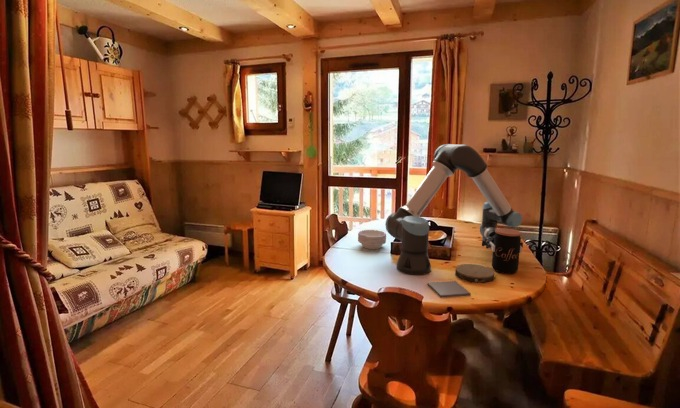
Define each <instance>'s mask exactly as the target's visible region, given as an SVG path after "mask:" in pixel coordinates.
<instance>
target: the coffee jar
mask: <svg viewBox="0 0 680 408" xmlns="http://www.w3.org/2000/svg"><path fill="white" fill-rule="evenodd" d="M495 232H496V234H495V236H494V245H495V252H493V251H492V259H491V267H492V270H493V271H494V272H495V271H496V272H498V273H501V274H515V273H516V272H517V271H518V270H519V263H520V262H519V261H520V254H521V253H520V243H521V242H522V241H521V240H522V238H521V236H522V231H520V230H518V229H512V228H505V227H504V228H502V227H499V228H498V227H497V229H495Z"/></svg>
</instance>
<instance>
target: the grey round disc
mask: <svg viewBox="0 0 680 408" xmlns="http://www.w3.org/2000/svg"><path fill="white" fill-rule="evenodd" d="M495 274H496V273H495V270H494V269H493V268H489V267H487V266H484V265H480V264H473V263H463V264H459V265H457V266H455V273H454V275H455V276H456V278H458V279H460V280H461V281H464V282H468V283H471V284H472V283H473V284H489V283H492V282H494V280H495Z"/></svg>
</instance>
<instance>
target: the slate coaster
mask: <svg viewBox="0 0 680 408" xmlns="http://www.w3.org/2000/svg"><path fill="white" fill-rule="evenodd" d="M427 287H429V288H430V289H431V290H432V291H433V292H434V294H436V295H437V296H438V297H439V298H441V299H442V298H443V299H444V298H456V297H470V296H471V295H472V294H471V292H470V291H469V290H467V288H465V287H463V285H461V284H460V283H458V281H456V280H451V281H447V280H446V281H434V282H431V281H430V282H427Z"/></svg>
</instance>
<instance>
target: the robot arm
mask: <svg viewBox="0 0 680 408" xmlns="http://www.w3.org/2000/svg"><path fill="white" fill-rule="evenodd" d="M431 164H432V167H431V169H430V170H429V172H428V173H427V174H426V176H425V177H424V178H423V180H422V182H421V183H420V184H419V185H418V187H417V189H416V190H415V191H414V192H413V194H412V195H411V196H410V198H409V199H408V201H407V202H406V203H405V205H403V206H400V207H399V208H398V209H397V210H396V212H392V213H390V214H389V215H388V216H387V218H386V221H385V230H386V232H387V234H389V235H390V236H391V237H393V238H395V239H397V240H399V241H401V251H400V254H399V256H398V259H397V262H396V270H397V271H398V272H399V273H403V274H405V275H412V276H414V275H415V276H422V275H426V274H429V273H430V272H431V271H432V267H431V266H432V265H431V262H430V258H429V254H428V250H429V237H430V236H429V233H430V222H429V221H428V220H427V219H426V218H424V217H421V214H422V213H423V212H424V211H425V209H426V208H427V206H428V205H429V204H430V203H431V200H433V198H434V196H435V195H436V194H437V192H438V191H439V190H440V188H441V186H442V185H443V184H444V183H445V181H446V180H447V178H448V177H453V176H454V174H455V173H456V171H457V170H460V171H462V172H464V173H465V175H466V176H467V177H468V178H470V179H472V181H473V182H474V184H475V185H476V186H477V188H478V189H479V191H480V192H481V194H482V196H483V197H484V198H485V199H486V201H485V202H484V203H483V208H482V215H481V218H482V219H481V224H480V226H479V228H478V229H479V233H480V235H481V236H482V239H481V246H482V247H485V249H490V250H491V251H492V253H493V252H495V245H494V236H495V234H496V232H495V229H498V224H501V225H504V226H507V227H511V228H518V227H519V226H520V225H522V222H523V217H522V214H521V213H520V212H518V211H514V209H513V208H512V206H511V205H510V203H509V201H508V200H507V198H506V197H505V195H504V194H503V192H502V191H501V189H500V187H499V186H498V185H497V182H496V181H495V180H494V178H493V177H492V175H491V173H490V172H489V170H488V164H487V162H486V161H485V159H484V158H483V157H482V155H480V154H479V152H478V151H477V150H476V149H474V148H473V147H472V146H470V145H467V144H452V143H446V144H442V145H440V146H438V147H437V148H436V149H435V151H434V154H433V161H432V162H431ZM523 248H524V242H522V241H521V243H520V253H519V254H523Z"/></svg>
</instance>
